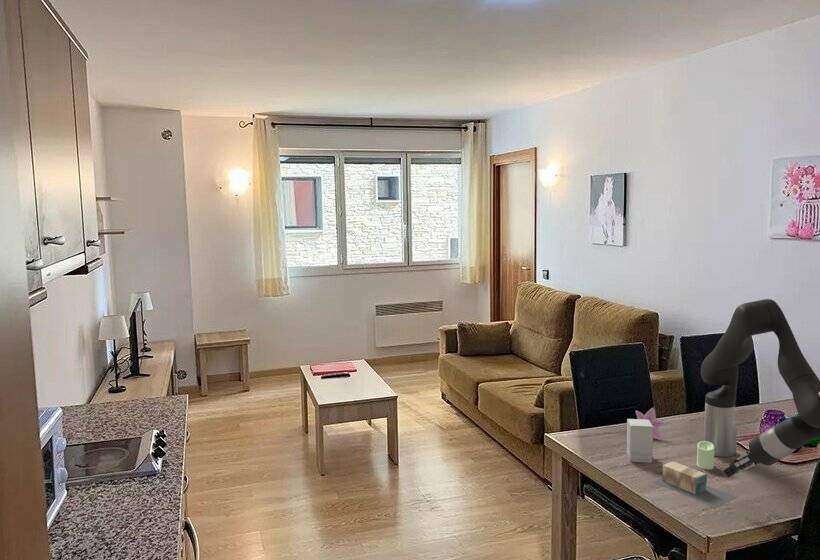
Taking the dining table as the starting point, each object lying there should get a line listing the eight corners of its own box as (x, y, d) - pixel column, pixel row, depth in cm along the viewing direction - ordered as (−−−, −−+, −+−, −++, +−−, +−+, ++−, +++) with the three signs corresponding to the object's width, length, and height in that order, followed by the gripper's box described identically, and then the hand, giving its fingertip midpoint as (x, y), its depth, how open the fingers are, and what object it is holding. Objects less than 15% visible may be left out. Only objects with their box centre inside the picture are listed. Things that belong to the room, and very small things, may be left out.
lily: (623, 438, 226) (630, 421, 220) (629, 418, 234) (637, 401, 229) (656, 452, 221) (664, 435, 216) (661, 431, 230) (669, 414, 225)
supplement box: (652, 463, 201) (653, 426, 200) (629, 461, 203) (630, 425, 201) (648, 454, 208) (649, 419, 207) (626, 453, 210) (626, 418, 208)
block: (706, 474, 179) (672, 461, 189) (696, 478, 177) (662, 465, 186) (706, 490, 180) (672, 476, 190) (696, 494, 177) (662, 480, 187)
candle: (713, 472, 193) (714, 447, 192) (696, 469, 196) (696, 445, 195) (714, 466, 198) (714, 442, 197) (697, 463, 200) (698, 439, 199)
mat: (736, 499, 175) (736, 497, 175) (714, 509, 169) (714, 507, 169) (674, 474, 192) (674, 472, 192) (652, 483, 186) (652, 481, 186)
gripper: (776, 427, 165) (731, 456, 176) (749, 437, 158) (704, 466, 169) (796, 452, 161) (749, 480, 172) (769, 463, 154) (721, 492, 165)
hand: (726, 473), depth 171 cm, fingers closed
